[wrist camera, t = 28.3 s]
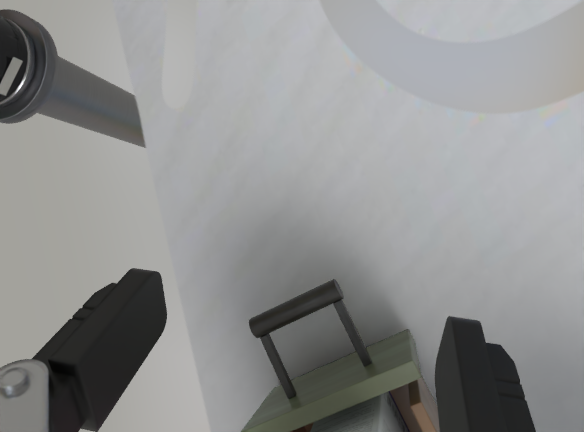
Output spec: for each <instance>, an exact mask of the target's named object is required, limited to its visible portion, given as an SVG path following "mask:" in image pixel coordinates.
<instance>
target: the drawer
mask: <svg viewBox="0 0 584 432" xmlns="http://www.w3.org/2000/svg"><path fill="white" fill-rule="evenodd" d="M343 298H344V297H343V293H342V290H341V288H340V286H339V284H338V282H337V281H336V280H335V279H333V280H331V281H329V282H327V283H324V284H322V285H320V286H318V287H316V288H314V289H312V290H310V291H308V292H306V293H304V294H301V295H299V296H297V297H295V298H293V299H291V300H289V301H287V302H285V303H283V304H280V305H278V306H276V307H274V308H272V309H270V310H268V311H266V312H264V313H262V314H260V315H257V316H255V317H253V318H251V319H250V320H249V326H250V329H251V331H252V333H253V335H254V336H255V337H256V338H260V337H261V338H260V339H261V341H262V343H263V346H264V348H265V350H266V352H267V354H268V356H269V359H270V361H271V363H272V365H273V367H274V369H275V372H276V374H277V376H278V378H279V380H280V383H281V385H279V386H277V387H274V388H273V390H272V391H271V392H270V394H269V395H268V396H267V398H266V399H265V400H264V402H263V403H262V404H261V406H260V407H259V408H258V410H257V411H256V412H255V414H254V415H253V416H252V418H251V419H250V420H249V422H248V423H247V424H246V426H245V427H244V428H243V430H242V431H241V432H310V431H311V429H312V426H313V424H314V422H315V421H318V420H320V419H323V418H325V417H328V416H330V415H332V414H335V413H337V412H340V411H342V410H345V409H347V408H349V407H352V406H354V405H357V404H359V403H362V402H364V401H367V400H369V399H371V398H374V397H376V396H379V395H381V394H384V393H386V392H388V391H390V393H391V395H392V397H393V399H394V401H395V403H396V405H397V407H398V409H399V411H400V413H401V415H402V417H403V419H404V421H405V423H406V425H407V427H408V429H409V432H440V428H439V417H438V407H437V405H436V403H435V401H434V399H433V397H432V395H431V393H430V391H429V389H428V387H427V385H426V383H425V381H424V379H423V377H422V375H421V370H420V365H419V360H418V355H417V349H416V344H415V341H414V339H413V337H412V335H411V333H410V331H409V330H408V329H407V330H405V331H403V332H400V333H398V334H396V335H394V336H391V337H389V338H387V339H384V340H382V341H380V342H378V343H375V344H373V345H371V346H368V347H365V345H364V343H363V341H362V339H361V337H360V335H359V333H358V331H357V329H356V327H355V325H354V323H353V321H352V319H351V317H350V315H349V313H348V311H347V309H346V307H345V305H344V303H343V301H342V299H343ZM333 303H334V306H335V308H336V310H337V312H338V314H339V317H340V319H341V321H342V323H343V325H344V327H345V329H346V331H347V333H348V335H349V337H350V339H351V341H352V343H353V345H354V347H355V349H356V351H357V352H355V353H352V354H350V355H348V356H345V357H343V358H341V359H339V360H336V361H334V362H332V363H329V364H327V365H325V366H323V367H320V368H318V369H316V370H313V371H311V372H309V373H306V374H304V375H302V376H300V377H297V378H295V379H293V380H290V378H289V376H288V373H287V371H286V369H285V367H284V365H283V363H282V361H281V358H280V356H279V354H278V352H277V350H276V348H275V345H274V343H273V341H272V339H271V337H270V335H269V333H270V332H272V331H275V330H277V329H279V328H281V327H283V326H285V325H288V324H290V323H292V322H294V321H296V320H298V319H300V318H303V317H305V316H307V315H309V314H311V313H313V312H315V311H318V310H320V309H322V308H324V307H326V306H328V305H330V304H333Z"/></svg>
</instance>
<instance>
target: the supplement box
mask: <svg viewBox="0 0 584 432" xmlns="http://www.w3.org/2000/svg"><path fill="white" fill-rule="evenodd" d="M310 432H409V429H408V427H407V425H406V423H405V421H404V419H403V417H402V415H401V413H400V411H399V409H398V407H397V405H396V403H395V401H394V399H393V397H392V395H391V393H390V391H388V392H386V393H384V394H381V395H379V396H376V397H374V398H371V399H369V400H367V401H364V402H362V403H359V404H357V405H354V406H352V407H349V408H347V409H345V410H342V411H340V412H337V413H335V414H332V415H330V416H328V417H325V418H323V419H320V420H318V421H315V422H314V424H313V426H312V429H311V431H310Z"/></svg>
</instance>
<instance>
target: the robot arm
mask: <svg viewBox="0 0 584 432" xmlns="http://www.w3.org/2000/svg"><path fill="white" fill-rule="evenodd" d="M35 66H36V53H35V48H34V44H33V42H32V39H31V37H30V36H29V34H28V33H27V32H26V30H25V29H24V28H22V27H21V26H20V25H18V24H16V23H15V22H13V21H11V20H9V19H7V18H4V17H1V16H0V108H2V107H6V106H8V105H10V104H12V103H14V102H15V101H17V100H18V99H19V98H20V97H21V96H22V95H23V94H24V93H25V91H26V90H27V89H28V87H29V85H30V83H31V81H32V78H33V75H34V72H35ZM166 319H167V310H166V304H165V298H164V291H163V284H162V279H161V275H160V273H159V272H156V271H149V270H143V269H135V268H133V269H130V270H129V271H128V272H127V273H126V274H125V275H124V277H123V278H122V279H121V280H120V281H119V282H118V283H117V284H116V283H111V284H109V285H108V286H106V287H104V288H102V289H101V290H99V291H97V292H96V293H94V294H93V295H92V296H91V298H90V299H89V300H88V301H87V302H86V303H85V304H84V305H83V308H80V309H79V310H78V311H77V312H76V313H75V314H74V315H73V318H72V319H70V320H68V322H67V323H66V324H65V325H64V326H63V327H62V328H61V329H60V330H59V331H58V332H57V333H56V334H55V335H54V336H53V337H52V338H51V339H50V340H49V342H47V343H46V345H45V346H44V347H43V348H42V349H41V350H40V351H39V352H38V353H37V354H36V355H35V356H34V357H33V358H32V359H25V360H19V361H15V362H12V363H10V364H7V365H5V366H3V367H1V368H0V432H78V431H79V430H80V428H81V429H86V430H90V431H95V432H98V430H99V428H100V427H101V426H102V424H103V423H104V421H105V420H106V418H107V417H108V415H109V413H110V412H111V410H112V409H113V407H114V406H115V404H116V403H117V401H118V400H119V398H120V397H121V395H122V394H123V392H124V391H125V389H126V388H127V386H128V384H129V383H130V381H131V380H132V378H133V377H134V375H135V374H136V372H137V371H138V369H139V368H140V366H141V365H142V363H143V362H144V360H145V359H146V357H147V356H148V354H149V352H150V351H151V350H152V348H153V347H154V345H155V343H156V342H157V340H158V339H159V337H160V336H161V334H162V332H163V330H164V328H165V324H166ZM435 387H436V397H437V407H438V417H439V428H440V432H536V431H535V427H534V424H533V421H532V418H531V415H530V411H529V408H528V405H527V402H526V400H525V395H524V392H523V389H522V385H520V379H519V376H518V373H517V369H516V366H515V363H514V361H513V360H512V359H511V358H510V356H509V355H508V354H507V353H506V351H505V350H504V349H503V348H502V346H501V345H497V344H491V343H486V342H485V338H484V334H483V330H482V326H481V323H480V321H477V320H470V319H464V318H457V317H450V316H449V317H448V318H447V321H446V324H445V328H444V332H443V336H442V340H441V344H440V348H439V352H438V356H437V360H436V367H435Z"/></svg>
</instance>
